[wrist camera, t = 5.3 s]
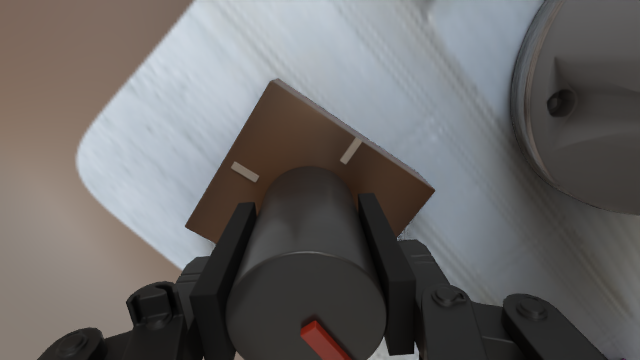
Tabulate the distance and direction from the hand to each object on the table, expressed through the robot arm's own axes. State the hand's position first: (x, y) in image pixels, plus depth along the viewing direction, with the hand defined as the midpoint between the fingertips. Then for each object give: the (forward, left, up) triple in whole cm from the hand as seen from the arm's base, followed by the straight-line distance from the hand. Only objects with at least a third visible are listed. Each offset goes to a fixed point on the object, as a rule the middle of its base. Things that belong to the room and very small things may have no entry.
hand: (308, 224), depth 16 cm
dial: (0, 0, -2) cm, 2 cm away
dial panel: (0, 0, -5) cm, 5 cm away
